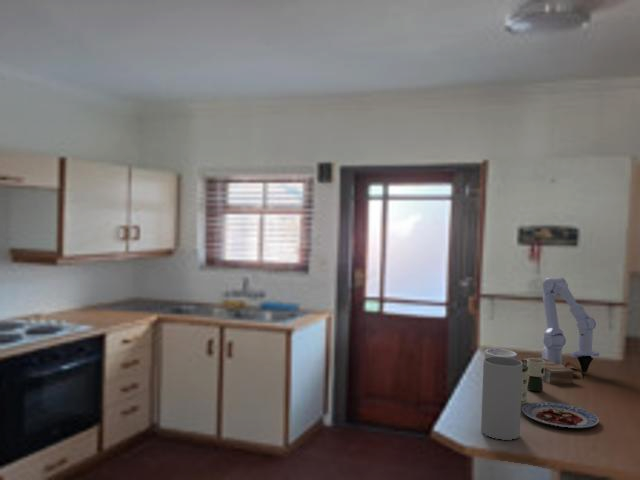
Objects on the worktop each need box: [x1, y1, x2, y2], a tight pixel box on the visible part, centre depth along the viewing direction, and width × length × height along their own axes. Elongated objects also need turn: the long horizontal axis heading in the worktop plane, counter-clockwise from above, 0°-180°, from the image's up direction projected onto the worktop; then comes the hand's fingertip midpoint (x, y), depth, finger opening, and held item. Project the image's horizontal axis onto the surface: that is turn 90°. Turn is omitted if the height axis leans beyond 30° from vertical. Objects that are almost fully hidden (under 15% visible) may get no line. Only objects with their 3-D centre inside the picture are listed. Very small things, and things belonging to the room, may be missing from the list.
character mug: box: [527, 357, 545, 392], centre depth 241 cm, size 11×7×13 cm, turn 157°
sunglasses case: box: [564, 362, 584, 380], centre depth 269 cm, size 18×7×7 cm, turn 157°
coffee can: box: [521, 365, 528, 405], centre depth 227 cm, size 10×10×14 cm
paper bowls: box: [484, 348, 518, 360], centre depth 276 cm, size 15×15×8 cm
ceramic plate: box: [522, 401, 600, 429], centre depth 207 cm, size 26×26×3 cm
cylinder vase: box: [480, 357, 523, 441], centre depth 191 cm, size 12×12×25 cm
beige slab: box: [521, 357, 574, 385], centre depth 263 cm, size 22×11×6 cm, turn 14°
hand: (584, 371), depth 268 cm, fingers closed
